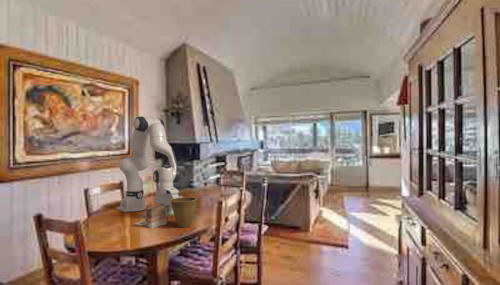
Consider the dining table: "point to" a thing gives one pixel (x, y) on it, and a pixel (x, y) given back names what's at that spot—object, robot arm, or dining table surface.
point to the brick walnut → (155, 211)
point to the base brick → (155, 221)
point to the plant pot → (184, 210)
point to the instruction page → (140, 223)
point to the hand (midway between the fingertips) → (166, 211)
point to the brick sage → (167, 210)
